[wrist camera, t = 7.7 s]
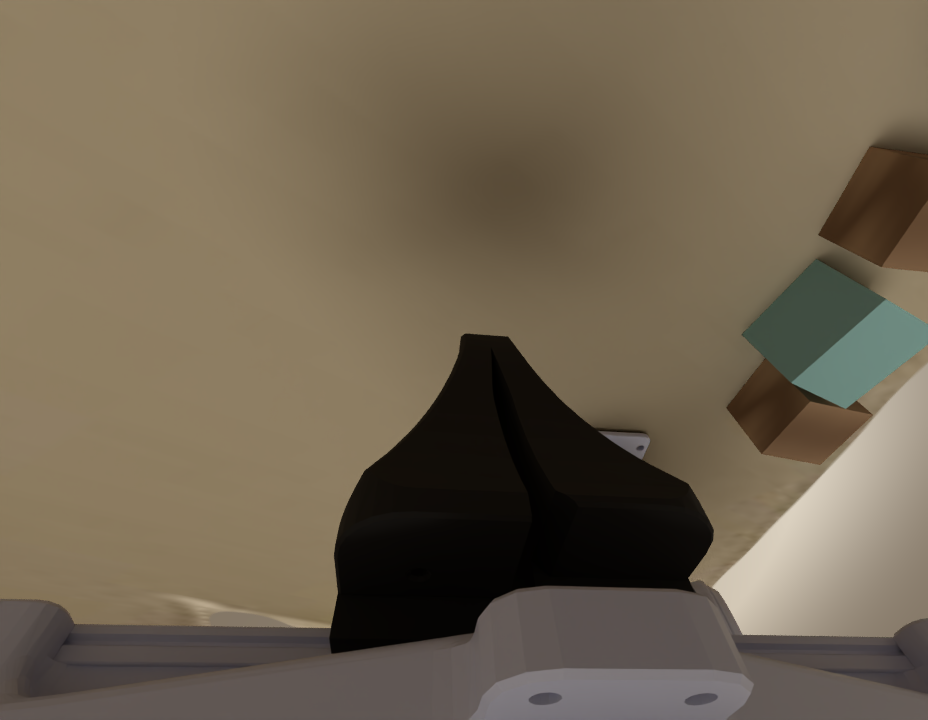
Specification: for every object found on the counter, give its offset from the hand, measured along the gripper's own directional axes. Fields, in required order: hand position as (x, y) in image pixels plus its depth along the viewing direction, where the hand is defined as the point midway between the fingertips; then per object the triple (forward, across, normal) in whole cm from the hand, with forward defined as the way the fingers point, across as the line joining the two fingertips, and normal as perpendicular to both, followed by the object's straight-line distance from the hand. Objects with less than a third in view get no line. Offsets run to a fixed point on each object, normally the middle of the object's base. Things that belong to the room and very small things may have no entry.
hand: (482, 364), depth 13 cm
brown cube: (+11, -19, -4) cm, 22 cm away
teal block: (+11, -19, +2) cm, 22 cm away
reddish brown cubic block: (+10, -20, +8) cm, 24 cm away
